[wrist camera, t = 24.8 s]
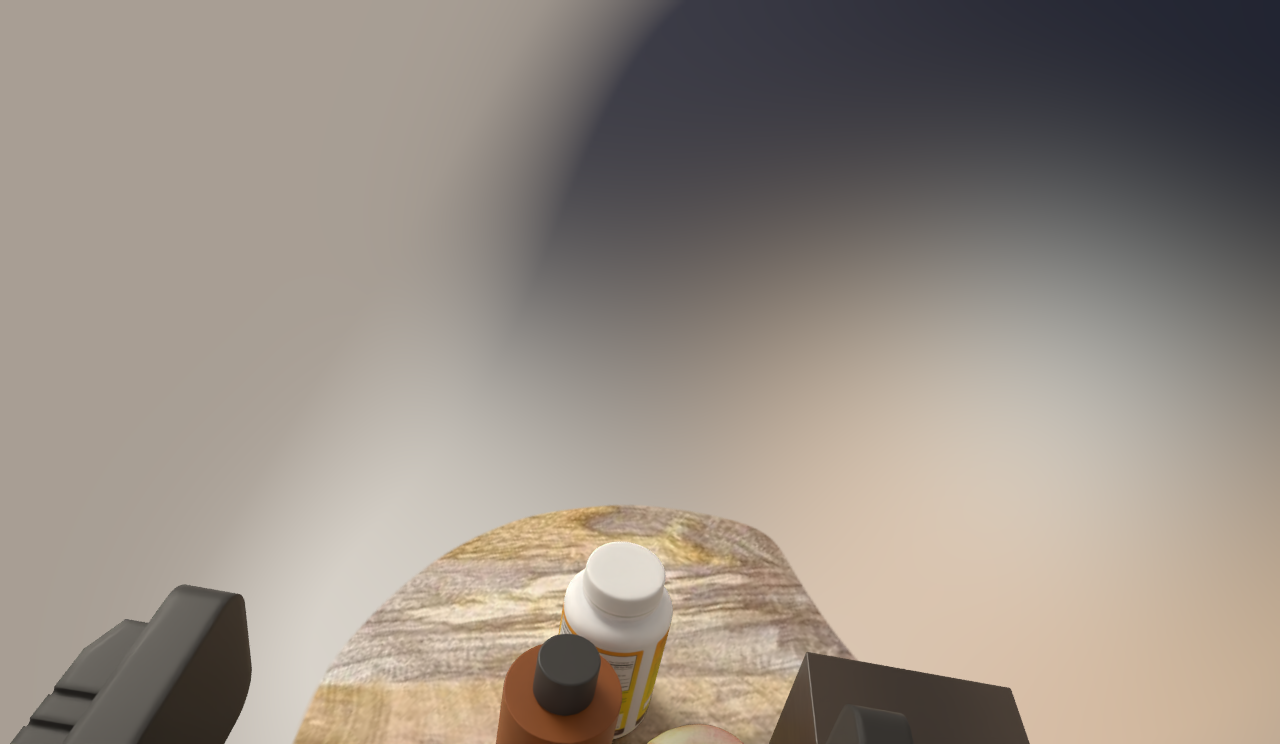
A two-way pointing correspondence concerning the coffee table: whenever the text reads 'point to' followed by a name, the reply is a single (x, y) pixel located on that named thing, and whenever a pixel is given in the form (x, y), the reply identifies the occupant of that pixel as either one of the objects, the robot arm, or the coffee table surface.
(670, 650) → the coffee table surface
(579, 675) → the amber bottle
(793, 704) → the pedestal
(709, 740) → the fruit
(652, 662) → the supplement bottle
